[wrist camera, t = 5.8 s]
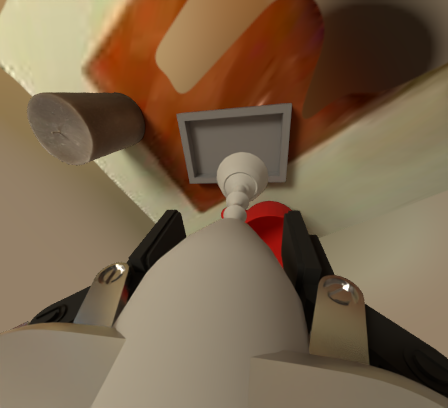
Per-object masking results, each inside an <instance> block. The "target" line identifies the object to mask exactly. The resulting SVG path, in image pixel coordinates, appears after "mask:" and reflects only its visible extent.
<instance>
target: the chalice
mask: <svg viewBox="0 0 448 408" xmlns="http://www.w3.org/2000/svg"><path fill="white" fill-rule="evenodd" d="M217 182H218V186H219V187H220V189H221V191H222V193H223V194H224V196H225V197H226V198H227V199H226V204H227V206H228V207H227V208H226V209H225V211H224V214H223V216H224V219H220V220H218V221H216V222H214V223H212V224H210V225H208V226H206V227H204V228H202V229H201V230H199V231H197V232H195V233H193V234H191V235H189V236H188V237H186V238H185V239H184V240H183V241H181V242H180V243H179V244H178V245H176V246H175V247H174V248H173V249H171V250H170V251H169V252H167V253H166V254H165V255H164V256H162V257H161V258H160V259H159V260H158V261H157V262H156V263H155V264H154V265H153V266H152V267H151V268H150V270H149V271H148V272H147V273H146V274H145V276H144V277H143V279H142V281H141V282H140V284H139V285H138V287H137V288H136V290H135V292H134V293H133V295H132V296H131V298H130V300H129V301H128V303H127V304H126V306H125V307H124V309H123V311H122V312H121V314H120V315H119V317H118V319H117V320H116V322H115V323H114V325H113V326H112V328H116V330H117V331H119V332H120V333H121V334H122V335H123V336H124V337H125V338H126V341H125V343H124V345H123V347H122V349H121V351H120V353H119V355H118V356H117V358H116V360H115V362H114V364H113V366H112V368H111V370H110V372H109V374H108V376H107V378H106V379H105V381H104V383H103V385H102V387H101V389H100V391H99V393H98V395H97V397H96V399H95V401H94V402H93V404H92V406H91V408H248V391H249V372H250V357H253V356H258V355H263V354H269V353H277V352H280V351H282V350H285V351H293V352H299V353H305V354H310V353H309V339H310V338H309V333H308V329H307V324H306V320H305V315H304V311H303V306H302V302H301V300H300V298H299V296H298V294H297V292H296V290H295V288H294V287H293V285H292V283H291V281H290V280H289V278H288V276H287V275H286V273H285V271H284V270H283V268H282V266H281V265H280V263H279V261H278V260H277V258H276V257H275V255H274V253H273V252H272V250H271V248H270V247H269V246H268V245H267V244H266V243H265V242H264V241H263V240H262V239H261V238H260V237H259V236H258V234H257V233H256V232H255V231H254V230H253V229H252V228H251V227H250V226H249V225H248V224H247V223H245V221H246V218H247V213H246V211H245V210H246V209H247V207H248V206H249V202H250V201H253V200H254V199H255V198H256V197H258V196H259V195H260V194H261V193H262V192H263V191H264V189H265V188H266V186H267V182H268V170H267V168H266V166H265V164H264V162H263V161H262V160H261V159H259V158H258V157H257V156H255V155H253V154H251V153H245V152H239V153H234V154H231V155H230V156H228V157H226V158H225V159H224V160H223V161H222V162H221V164H220V165H219V168H218V170H217Z"/></svg>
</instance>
